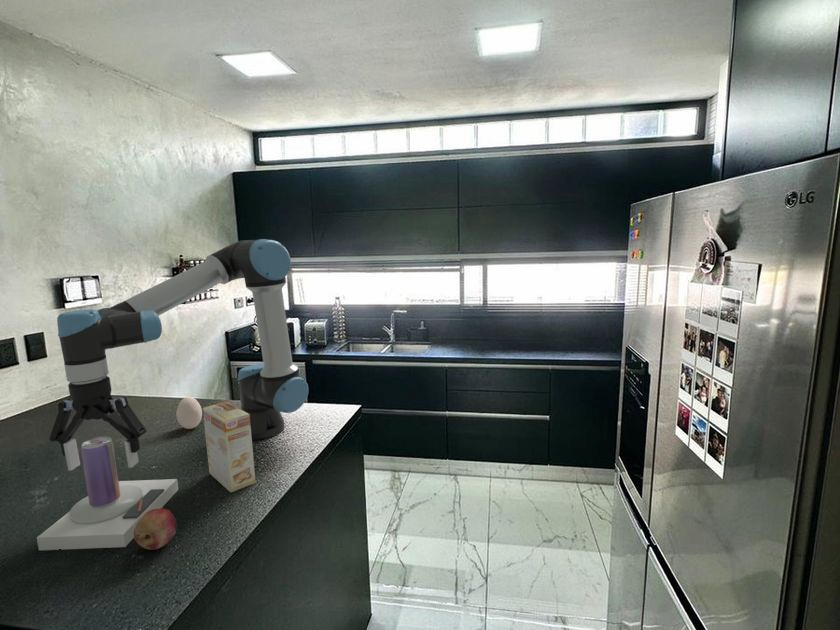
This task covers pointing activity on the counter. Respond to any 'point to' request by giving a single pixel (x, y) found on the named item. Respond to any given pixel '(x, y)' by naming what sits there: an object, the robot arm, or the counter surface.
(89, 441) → the beverage can
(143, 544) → the fruit
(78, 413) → the robot arm
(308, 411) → the counter surface
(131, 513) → the scale
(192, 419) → the egg
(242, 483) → the coffeecake box
